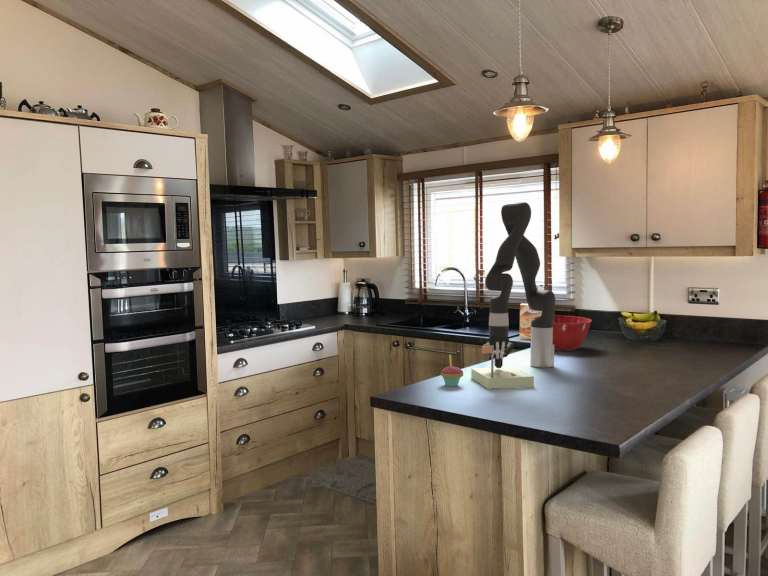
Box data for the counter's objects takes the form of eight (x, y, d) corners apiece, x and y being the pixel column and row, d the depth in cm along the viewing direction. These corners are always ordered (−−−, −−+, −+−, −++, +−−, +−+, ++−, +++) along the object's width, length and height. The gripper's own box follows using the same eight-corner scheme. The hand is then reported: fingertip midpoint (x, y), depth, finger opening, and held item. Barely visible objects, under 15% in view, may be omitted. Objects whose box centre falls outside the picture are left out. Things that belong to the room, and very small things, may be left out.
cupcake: (436, 383, 240) (437, 352, 239) (456, 381, 243) (457, 351, 242) (447, 388, 232) (447, 356, 231) (467, 386, 235) (467, 354, 234)
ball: (514, 372, 236) (513, 385, 236) (509, 369, 240) (508, 381, 241) (501, 373, 235) (501, 386, 235) (496, 369, 239) (496, 382, 240)
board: (513, 376, 253) (514, 337, 251) (533, 387, 234) (534, 344, 233) (466, 378, 249) (466, 338, 248) (482, 389, 230) (483, 346, 229)
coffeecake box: (519, 339, 350) (519, 304, 348) (520, 337, 356) (520, 303, 355) (546, 340, 345) (547, 305, 344) (547, 338, 352) (548, 304, 351)
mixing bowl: (598, 354, 303) (599, 322, 302) (539, 353, 304) (540, 322, 303) (581, 344, 331) (582, 315, 330) (527, 344, 332) (527, 315, 331)
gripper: (510, 322, 250) (510, 365, 251) (479, 323, 247) (479, 366, 249) (518, 324, 242) (518, 368, 244) (486, 325, 240) (485, 370, 241)
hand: (498, 367), depth 246 cm, fingers closed
